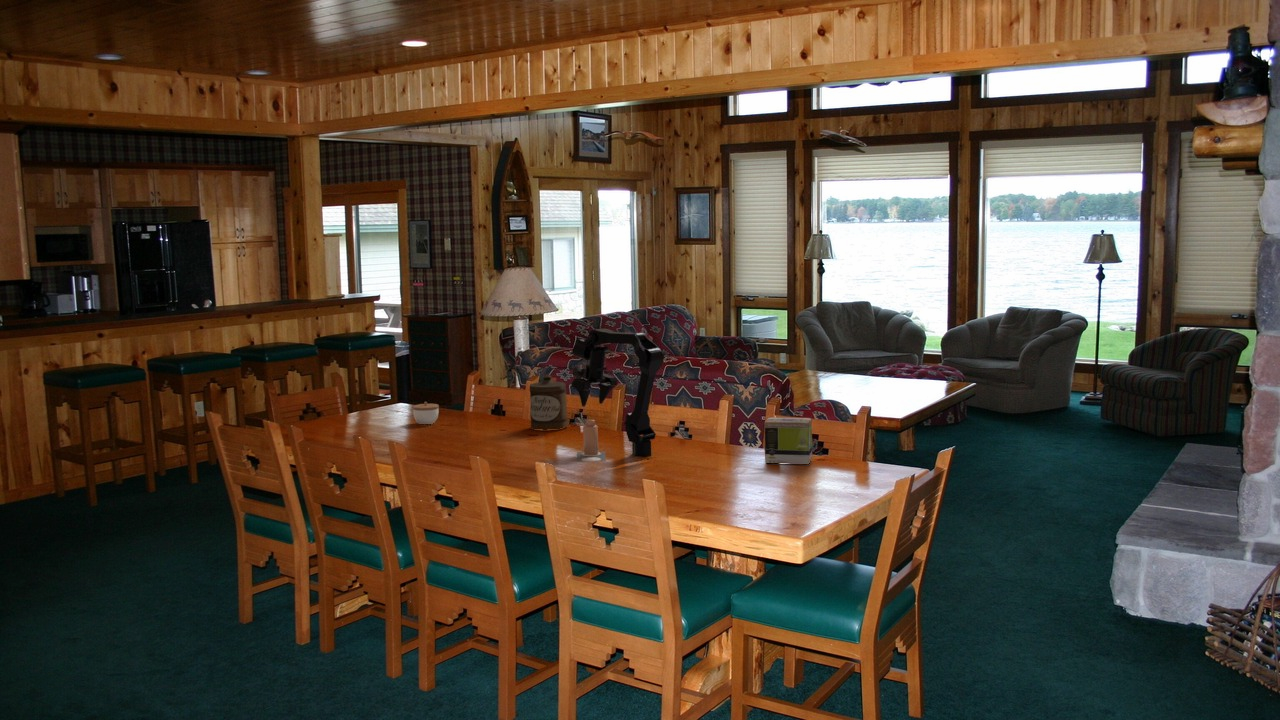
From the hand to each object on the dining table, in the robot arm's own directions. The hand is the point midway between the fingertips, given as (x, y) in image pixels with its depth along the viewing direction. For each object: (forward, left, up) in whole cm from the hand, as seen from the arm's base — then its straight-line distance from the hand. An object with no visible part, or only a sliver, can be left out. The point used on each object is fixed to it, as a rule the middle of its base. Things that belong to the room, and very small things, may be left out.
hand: (592, 404), depth 369 cm
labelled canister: (+46, -14, -17) cm, 51 cm away
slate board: (-12, +11, -17) cm, 23 cm away
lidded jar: (+92, +16, -17) cm, 95 cm away
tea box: (-64, -33, -17) cm, 74 cm away
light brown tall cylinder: (-9, +8, -15) cm, 19 cm away
